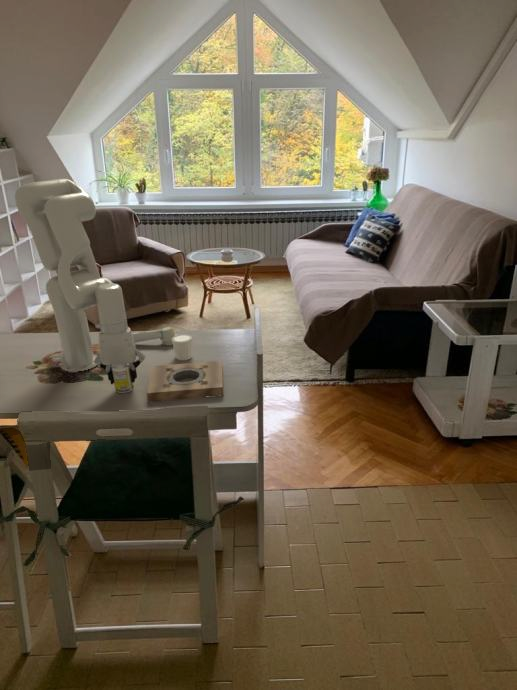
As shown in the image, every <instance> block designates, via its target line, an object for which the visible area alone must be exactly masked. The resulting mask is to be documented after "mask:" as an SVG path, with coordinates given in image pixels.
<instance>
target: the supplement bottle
mask: <svg viewBox="0 0 517 690" xmlns="http://www.w3.org/2000/svg"><path fill="white" fill-rule="evenodd" d="M111 367H112V373H113V379H114V384H113V385H114V389H115V392H117V393H119V394H126V393H130V392H131V391H133V390H134V388H135V385H134V383H132V380H131V374H130V370H131V368H130V366H129V364H119V365H111Z"/></svg>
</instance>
